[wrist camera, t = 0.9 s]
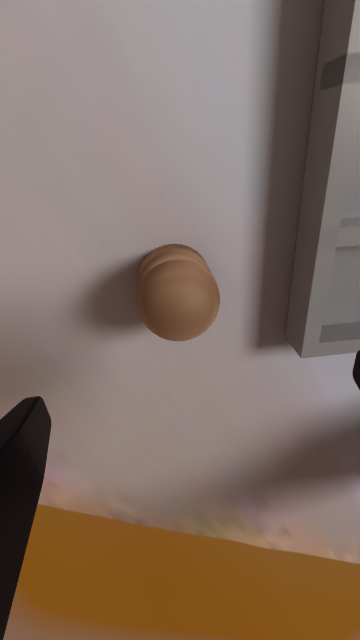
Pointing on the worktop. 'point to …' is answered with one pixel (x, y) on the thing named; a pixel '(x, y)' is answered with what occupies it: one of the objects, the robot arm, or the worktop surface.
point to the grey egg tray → (330, 198)
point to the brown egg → (176, 293)
